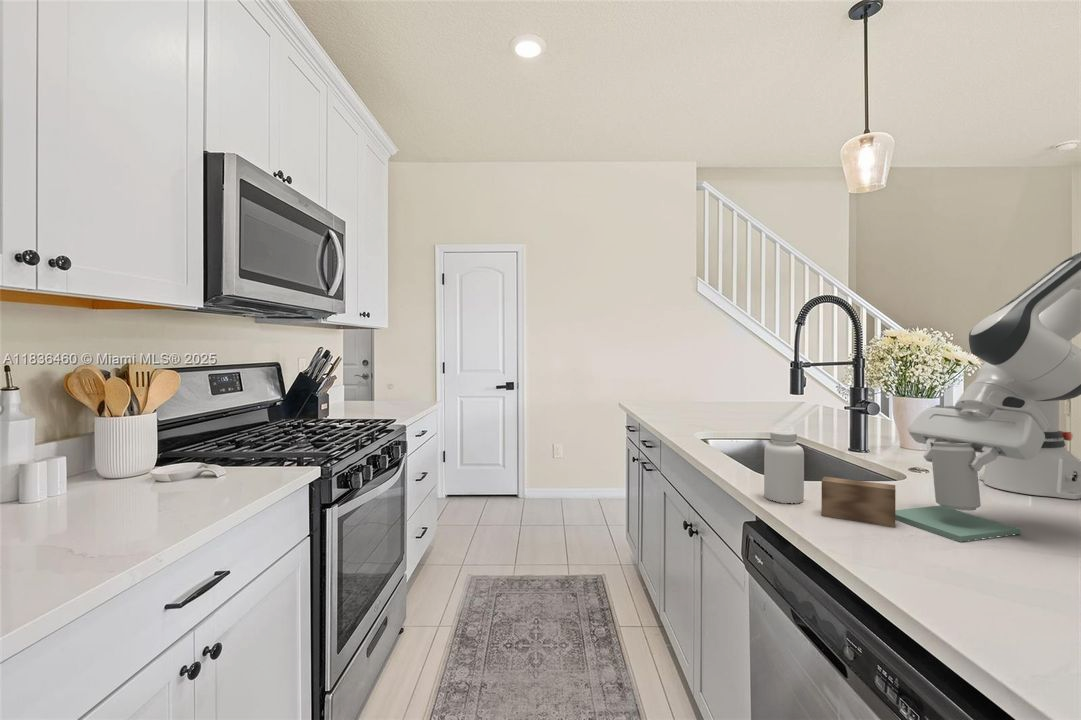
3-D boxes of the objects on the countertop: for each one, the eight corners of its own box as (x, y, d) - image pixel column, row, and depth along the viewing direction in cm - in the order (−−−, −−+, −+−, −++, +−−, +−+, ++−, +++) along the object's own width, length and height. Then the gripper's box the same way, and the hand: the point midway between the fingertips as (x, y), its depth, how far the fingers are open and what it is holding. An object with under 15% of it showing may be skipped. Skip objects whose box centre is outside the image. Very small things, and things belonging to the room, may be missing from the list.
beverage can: (967, 505, 93) (960, 441, 95) (990, 511, 87) (983, 443, 88) (928, 504, 95) (923, 441, 96) (948, 510, 88) (942, 443, 90)
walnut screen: (821, 515, 98) (821, 480, 98) (823, 510, 102) (823, 476, 102) (895, 527, 91) (895, 489, 91) (895, 521, 95) (895, 485, 95)
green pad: (940, 510, 101) (940, 505, 101) (1021, 534, 87) (1021, 528, 87) (885, 516, 98) (885, 511, 98) (960, 542, 84) (960, 536, 84)
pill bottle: (768, 503, 107) (768, 434, 106) (761, 493, 114) (760, 428, 114) (808, 505, 105) (808, 435, 105) (798, 495, 113) (798, 429, 112)
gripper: (922, 394, 104) (887, 443, 101) (1044, 402, 84) (1004, 464, 82) (938, 414, 105) (903, 463, 102) (1061, 427, 85) (1023, 488, 83)
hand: (949, 464), depth 92 cm, fingers closed on beverage can, 6 cm apart
